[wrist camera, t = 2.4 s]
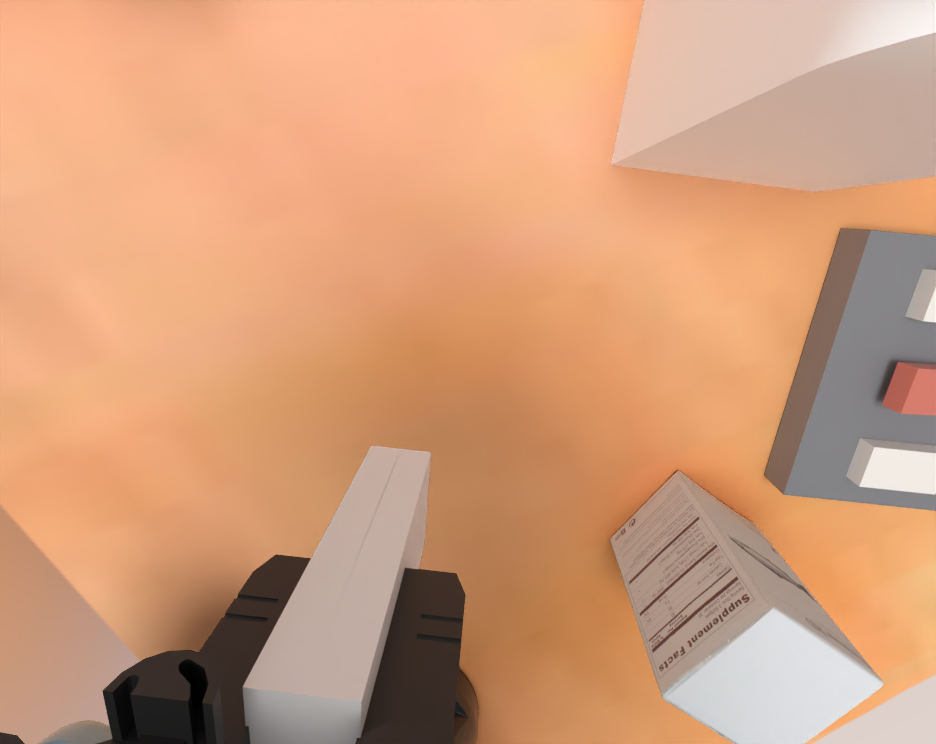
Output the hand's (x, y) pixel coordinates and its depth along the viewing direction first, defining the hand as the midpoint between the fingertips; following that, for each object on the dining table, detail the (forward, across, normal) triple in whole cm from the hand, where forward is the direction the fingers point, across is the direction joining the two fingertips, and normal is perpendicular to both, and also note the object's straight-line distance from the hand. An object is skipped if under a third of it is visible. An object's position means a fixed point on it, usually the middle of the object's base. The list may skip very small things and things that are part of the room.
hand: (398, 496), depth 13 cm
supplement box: (+20, -17, +13) cm, 29 cm away
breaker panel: (+20, -27, 0) cm, 33 cm away
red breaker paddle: (+17, -27, 0) cm, 31 cm away
